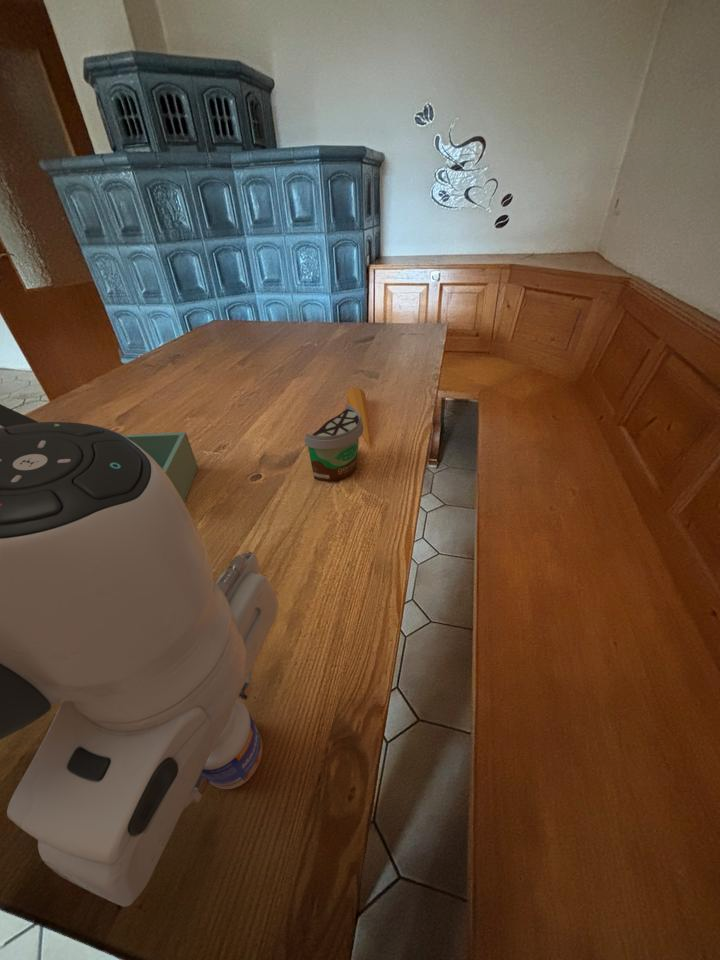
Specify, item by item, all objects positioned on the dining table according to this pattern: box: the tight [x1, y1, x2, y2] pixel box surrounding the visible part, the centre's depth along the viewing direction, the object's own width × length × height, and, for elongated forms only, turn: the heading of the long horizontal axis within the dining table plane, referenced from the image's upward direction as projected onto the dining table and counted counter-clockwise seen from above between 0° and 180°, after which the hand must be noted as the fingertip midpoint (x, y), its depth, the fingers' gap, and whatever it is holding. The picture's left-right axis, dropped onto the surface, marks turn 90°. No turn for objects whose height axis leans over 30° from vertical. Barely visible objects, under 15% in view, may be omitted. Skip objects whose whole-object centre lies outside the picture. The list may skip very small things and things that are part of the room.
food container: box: [304, 403, 363, 483], centre depth 66 cm, size 12×6×10 cm, turn 147°
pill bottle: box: [201, 697, 263, 790], centre depth 33 cm, size 5×5×10 cm
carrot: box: [346, 386, 372, 450], centre depth 81 cm, size 20×4×4 cm, turn 10°
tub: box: [122, 431, 199, 504], centre depth 62 cm, size 14×14×8 cm
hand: (221, 735), depth 33 cm, fingers open, 6 cm apart
